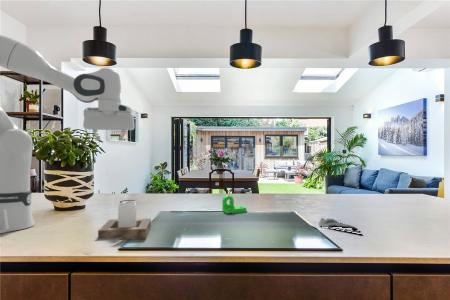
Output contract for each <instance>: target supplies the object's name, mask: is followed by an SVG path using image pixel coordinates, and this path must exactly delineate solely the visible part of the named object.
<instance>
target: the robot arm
mask: <svg viewBox="0 0 450 300" xmlns="http://www.w3.org/2000/svg"><path fill="white" fill-rule="evenodd" d="M0 67H1V68H4V69H7V70H9V71H12V72H14V73H17V74H20V75H23V76H26V77H29V78H33V79H36V80H40V81H43V82H47V83H49V84H51V85H53V86H56V87H58V88H59V89H63V90H65V91H67V92H69V93H70V94H72V95H73V96H74V97H75V98H76V99H77V100H78V101H80V102H82V103H84V104H85V103H86V104H89V103H93V102H95V101H96V100H97V99H98V101H97V102H98V103H97V104H98V107H87V108H85V109H84V110H83V125H82V126H83V128H84V130H87V131H88V130H91V131H92V134H93V136H94V137H95V141H101V136H100V135H98V134H97V133H98V131H100V130H102V131H103V130H104V131H121V133H122V134H121V135H120V136H118V141H121V142H124V136H125V135H126V133H127V131H134V130H135V118H134V115H133V114H132V112H133V111H132V108H131V107H130V106H127V105H124V104H122V103H121V92H122V91H121V89H122V85H121V77H120V74H119V73H118V71H116V70H115V69H112V68H108V67H101V68H100V69H98V70H96V71H94V72H89V73H88V72H87V73H81V74H78V75H77V76H75V77H74V76H72V75H69V74H66V73H65V72H63V71H60V70H58V69H56V68H55V67H53V66H52V65H50V63H49V62H48V61H47V59H45V58H44V57H43V55H42V54H40V52H38V51H37V50H36V49H34V48H32V47H30V46H28V45H27V44H25V43H23V42H20V41H18V40H16V39H13V38H10V37H7V36H5V35H1V34H0ZM33 145H34V144H33V138H32V137H31V134H29V133H28V132H27V131H25V130H23V129H20V128H19V127H18V126H17V125H16V124H15V122H14V121H13V120H12V119H11V118H10V117H9V115H8V114H7V112H6V111H5V110H4V109H3V108H2V107H1V106H0V234H4V233H10V232H13V231H19V230H23V229H24V230H25V229H29V228H31V227H34V226H35V224H36V223H35V221H34V217H33V212H32V201H33V199H32V190H31V167H32V157H33Z"/></svg>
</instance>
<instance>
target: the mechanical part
mask: <svg viewBox="0 0 450 300" xmlns="http://www.w3.org/2000/svg"><path fill="white" fill-rule="evenodd" d="M228 200H229V202H228ZM227 202H228V203H227ZM246 212H247V207H246V206H244V205H237V206H235V203H234V197H233V196H230V195H224V197H223V199H222V213H225V214H227V213H228V215H230V214H229V213H232V214H238V213H239V214H240V213H246Z"/></svg>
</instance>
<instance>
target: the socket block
mask: <svg viewBox="0 0 450 300" xmlns="http://www.w3.org/2000/svg"><path fill="white" fill-rule="evenodd" d="M151 221H152V219H151V218H150V217H149V218H136V227H124V228H118V218H117V219H116V218H115V219H108V220H107V221H106V222H105V224H103V225H102V226H101V227H100V228H99V229H98V230H97V233H98V234H97V238H98V239H118V238H119V241H125V240H126V241H129V239H131V240H147V238H148V235H149V233H150V230H151V227H152V222H151Z"/></svg>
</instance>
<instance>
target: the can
mask: <svg viewBox="0 0 450 300" xmlns="http://www.w3.org/2000/svg"><path fill="white" fill-rule="evenodd" d="M117 209H118V210H117V211H118V214H117V215H118V216H117V217H118V218H117V219H118V228H124V227H136V219H137V203H136V200H134V199H124V200H119V204H118V205H117Z"/></svg>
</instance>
